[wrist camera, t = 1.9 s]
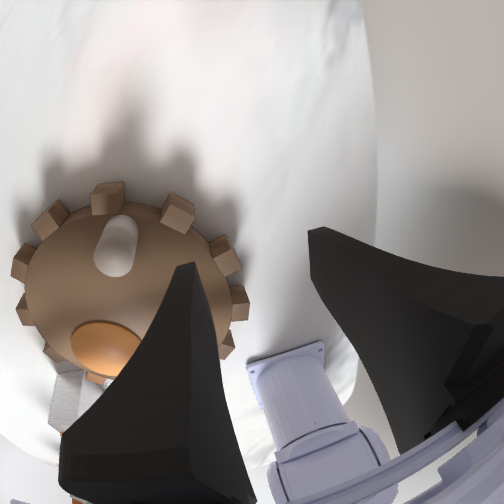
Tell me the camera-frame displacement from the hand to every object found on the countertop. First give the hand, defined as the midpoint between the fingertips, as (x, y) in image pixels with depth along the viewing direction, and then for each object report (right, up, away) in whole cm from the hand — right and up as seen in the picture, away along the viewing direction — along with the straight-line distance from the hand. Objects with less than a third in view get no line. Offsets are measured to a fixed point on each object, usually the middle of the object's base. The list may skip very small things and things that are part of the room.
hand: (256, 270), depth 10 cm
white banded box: (-17, -13, +15) cm, 26 cm away
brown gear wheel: (-9, -3, +10) cm, 14 cm away
